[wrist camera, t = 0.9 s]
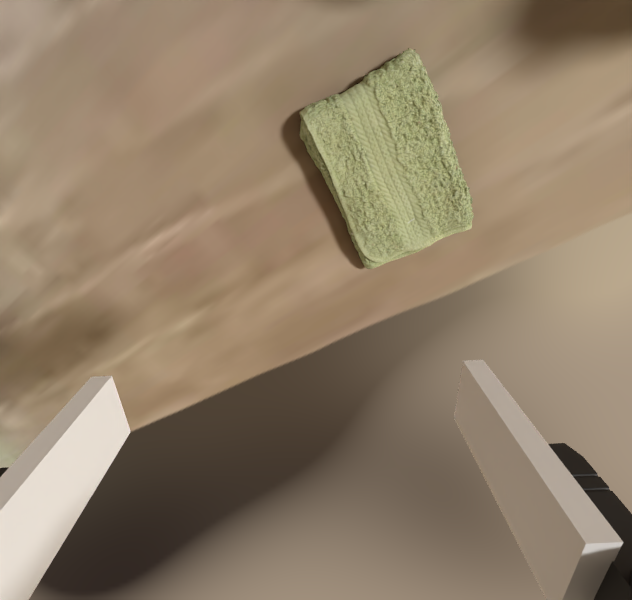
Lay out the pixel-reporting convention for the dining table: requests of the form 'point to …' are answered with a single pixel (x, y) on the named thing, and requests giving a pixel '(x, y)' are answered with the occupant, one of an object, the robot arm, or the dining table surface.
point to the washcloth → (389, 161)
